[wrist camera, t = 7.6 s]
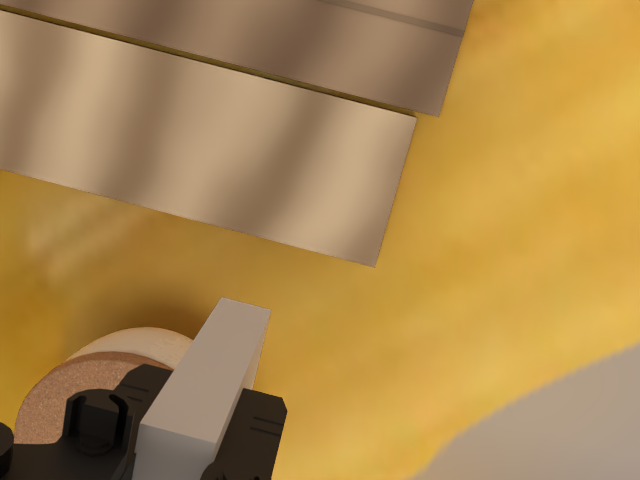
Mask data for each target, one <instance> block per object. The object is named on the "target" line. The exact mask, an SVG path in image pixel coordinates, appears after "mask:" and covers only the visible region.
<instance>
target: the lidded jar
mask: <svg viewBox="0 0 640 480" xmlns="http://www.w3.org/2000/svg"><path fill="white" fill-rule="evenodd" d="M192 342H193V340H192V339H190V338H188V337H187V336H185V335H182V334H180V333H177V332H175V331H171V330H167V329H163V328H155V327H138V328H129V329H124V330H120V331H116V332H113V333H111V334H108V335H106V336H103V337H101V338H98V339H96V340H94V341H93V342H91V343H89V344H88V345H86V346H85V347H83V348H81V349H80V350H78V351H77V352H75V353H74V354H73V355H71V356H70V357H69V358H68V359H67V360H65V361H64V362H63V363H62V364H61V365H59V366H57V367H56V368H54V369H53V370H51V371H50V372H49V373H48V374H47V375H46V376H45V377H44V378H42V379H41V380H40V381H39V382H38V383H37V384H36V385H35V386H34V387H33V388H32V390H31V391H30V392H29V394H28V395H27V396H26V397H25V399H24V401H23V403H22V405H21V407H20V409H19V412H18V416H17V420H16V423H15V433H14V443H17V444H50V443H55V442H57V440H58V439H59V438H60V437H61V436H62V430H63V423H64V415H65V408H66V401H67V399H68V398H69V397H71V396H72V395H73V394H75V393H77V392H81V391H84V390H87V389H100V388H101V389H108V390H114V389H115V388H116V386H117V385H119V383H120V381H121V380H122V379H123V378H124V376H125V375H126V374H127V372H128V371H130V370H132V369H134V368H136V367H138V366H140V365H142V364H144V363H145V364H149V365H153V366H157V367H160V368H164V369H168V370H172V371H174V370H175V368H176V367H177V365H178V364H179V362H180V360H181V359H182V357H183V356H184V354H185V353H186V351H187V350H188V348H189V347H190V345H191V344H192Z"/></svg>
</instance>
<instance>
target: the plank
mask: <svg viewBox="0 0 640 480" xmlns="http://www.w3.org/2000/svg"><path fill="white" fill-rule="evenodd" d="M416 121H417V117H415V116H411V115H407V114H403V113H399V112H395V111H392V110H388V109H384V108H380V107H376V106H372V105H368V104H364V103H361V102H357V101H353V100H349V99H345V98H341V97H337V96H333V95H330V94H326V93H322V92H318V91H314V90H310V89H306V88H302V87H299V86H295V85H291V84H287V83H283V82H279V81H275V80H271V79H268V78H264V77H260V76H256V75H252V74H248V73H244V72H240V71H237V70H233V69H229V68H225V67H221V66H217V65H213V64H210V63H206V62H202V61H198V60H194V59H190V58H186V57H182V56H179V55H175V54H171V53H167V52H163V51H159V50H155V49H151V48H148V47H144V46H140V45H136V44H132V43H128V42H124V41H120V40H117V39H113V38H109V37H105V36H101V35H97V34H93V33H89V32H86V31H82V30H78V29H74V28H70V27H66V26H62V25H58V24H55V23H51V22H47V21H43V20H39V19H35V18H31V17H27V16H24V15H20V14H16V13H12V12H8V11H4V10H0V169H1V170H5V171H9V172H13V173H17V174H20V175H24V176H28V177H32V178H36V179H39V180H43V181H47V182H51V183H55V184H58V185H62V186H66V187H70V188H74V189H77V190H81V191H85V192H89V193H93V194H96V195H100V196H104V197H108V198H112V199H115V200H119V201H123V202H127V203H131V204H134V205H138V206H142V207H146V208H150V209H153V210H157V211H161V212H165V213H169V214H173V215H176V216H180V217H184V218H188V219H192V220H195V221H199V222H203V223H207V224H211V225H214V226H218V227H222V228H226V229H230V230H233V231H237V232H241V233H245V234H249V235H252V236H256V237H260V238H264V239H268V240H271V241H275V242H279V243H283V244H287V245H290V246H294V247H298V248H302V249H306V250H309V251H313V252H317V253H321V254H325V255H328V256H332V257H336V258H340V259H344V260H347V261H351V262H355V263H359V264H363V265H366V266H370V267H374V268H375V265H376V261H377V258H378V254H379V251H380V247H381V244H382V240H383V237H384V233H385V230H386V226H387V223H388V219H389V216H390V212H391V209H392V205H393V202H394V198H395V195H396V191H397V188H398V184H399V181H400V177H401V174H402V170H403V167H404V163H405V160H406V156H407V153H408V149H409V146H410V142H411V139H412V135H413V132H414V128H415V125H416Z"/></svg>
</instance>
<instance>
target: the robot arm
mask: <svg viewBox="0 0 640 480" xmlns="http://www.w3.org/2000/svg"><path fill="white" fill-rule="evenodd" d="M270 314H271V310H270V309H266V308H262V307H259V306H255V305H251V304H247V303H243V302H239V301H235V300H232V299H228V298H224V297H221V299H220V300H219V302H218V303H217V305H216V307H215V308H214V310H213V311H212V313H211V314H210V316H209V317H208V319H207V320H206V322H205V323H204V325H203V327H202V328H201V330H200V331H199V333H198V334H197V336H196V337H195V339H194V340H193V342H192V344H191V345H190V347H189V348H188V350H187V351H186V353H185V354H184V356H183V357H182V359H181V360H180V362H179V364H178V365H177V367H176V368H175V370H174V371H172V370H168V369H164V368H160V367H157V366H153V365H149V364H145V363H144V364H142V365H140V366H138V367H136V368H134V369H132V370H130V371H128V372H127V374H126V375H125V376H124V378H123V379H122V380H121V381H120V383H119V385H117V386H116V388H115V389H114V390H108V389H101V388H100V389H87V390H84V391H81V392H77V393H75V394H73V395H72V396H71V397H69V398H68V399H67V401H66V408H65V415H64V423H63V430H62V436H61V437H60V438H59V439H58V440H57V442H55V443H50V444H17V443H14V435H13V433H12V430H11V429H10V428H9V427H7V426H6V425H5V424H3V423H1V422H0V480H271V476H272V472H273V468H274V464H275V460H276V456H277V451H278V447H279V443H280V439H281V435H282V431H283V427H284V423H285V419H286V415H287V409H286V407H285V404H284V402H283V399H282V398H281V397H277V396H273V395H269V394H265V393H262V392H258V391H254V390H252V389H253V385H254V380H255V376H256V372H257V368H258V364H259V360H260V355H261V351H262V347H263V343H264V339H265V334H266V330H267V326H268V322H269V318H270Z"/></svg>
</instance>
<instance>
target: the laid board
mask: <svg viewBox="0 0 640 480" xmlns="http://www.w3.org/2000/svg"><path fill="white" fill-rule="evenodd" d="M473 1H474V0H0V4H2V5H6V6H10V7H14V8H18V9H22V10H26V11H29V12H33V13H37V14H41V15H45V16H49V17H53V18H57V19H60V20H64V21H68V22H72V23H76V24H80V25H84V26H88V27H91V28H95V29H99V30H103V31H107V32H111V33H115V34H119V35H122V36H126V37H130V38H134V39H138V40H142V41H146V42H150V43H153V44H157V45H161V46H165V47H169V48H173V49H177V50H181V51H184V52H188V53H192V54H196V55H200V56H204V57H208V58H212V59H215V60H219V61H223V62H227V63H231V64H235V65H239V66H243V67H246V68H250V69H254V70H258V71H262V72H266V73H270V74H274V75H277V76H281V77H285V78H289V79H293V80H297V81H301V82H305V83H308V84H312V85H316V86H320V87H324V88H328V89H332V90H336V91H339V92H343V93H347V94H351V95H355V96H359V97H363V98H367V99H370V100H374V101H378V102H382V103H386V104H390V105H394V106H398V107H401V108H405V109H409V110H413V111H417V112H421V113H425V114H429V115H432V116H436V117H439V115H440V111H441V108H442V105H443V101H444V98H445V95H446V91H447V88H448V84H449V81H450V78H451V74H452V71H453V68H454V64H455V61H456V58H457V54H458V51H459V48H460V44H461V41H462V38H463V35H464V32H465V28H466V24H467V21H468V17H469V14H470V11H471V7H472V4H473Z"/></svg>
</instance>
